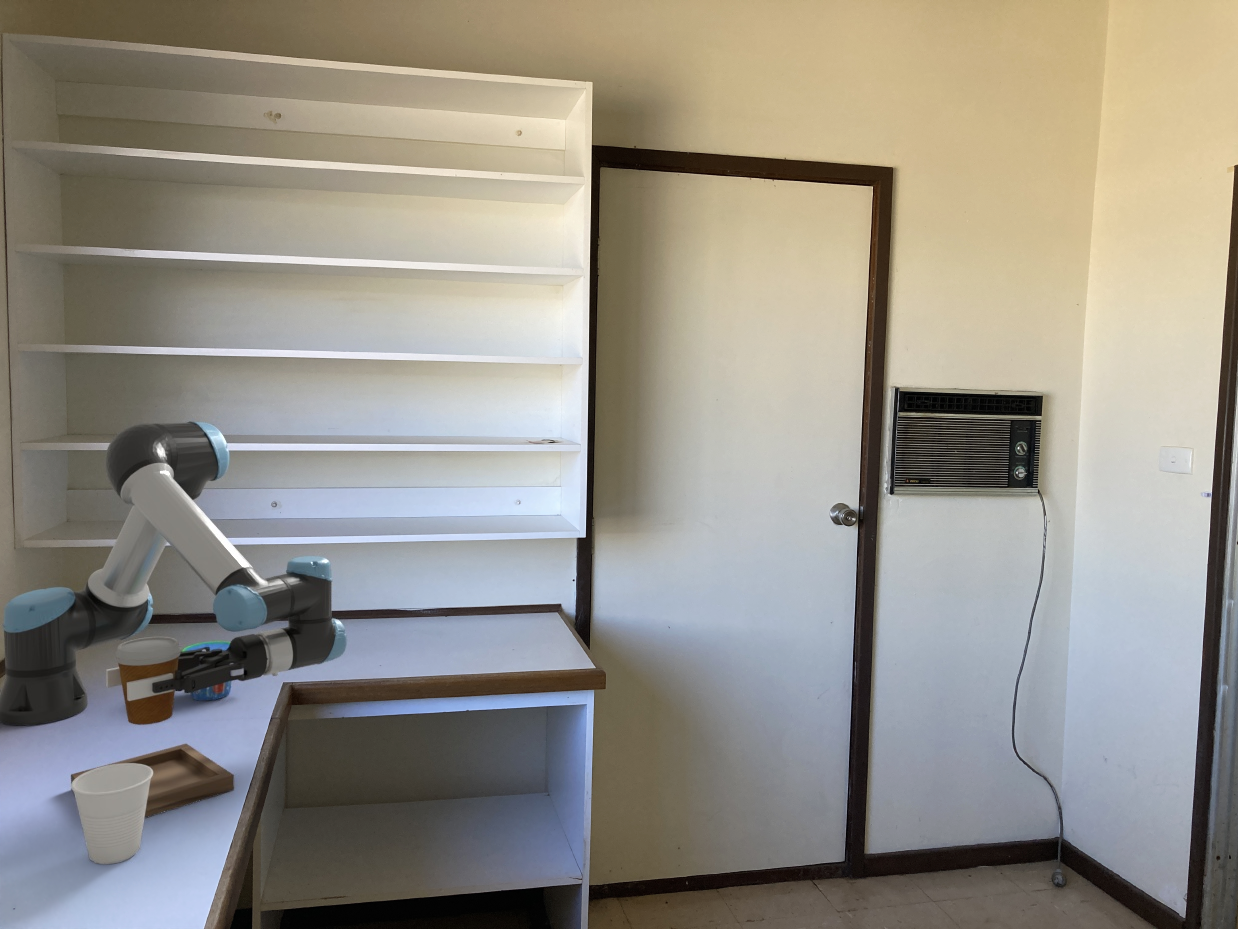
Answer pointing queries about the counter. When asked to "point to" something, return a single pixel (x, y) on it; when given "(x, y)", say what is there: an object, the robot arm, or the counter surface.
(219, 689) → the snack cup
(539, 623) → the counter surface
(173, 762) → the tray
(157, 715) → the disposable coffee cup
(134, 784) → the cup
